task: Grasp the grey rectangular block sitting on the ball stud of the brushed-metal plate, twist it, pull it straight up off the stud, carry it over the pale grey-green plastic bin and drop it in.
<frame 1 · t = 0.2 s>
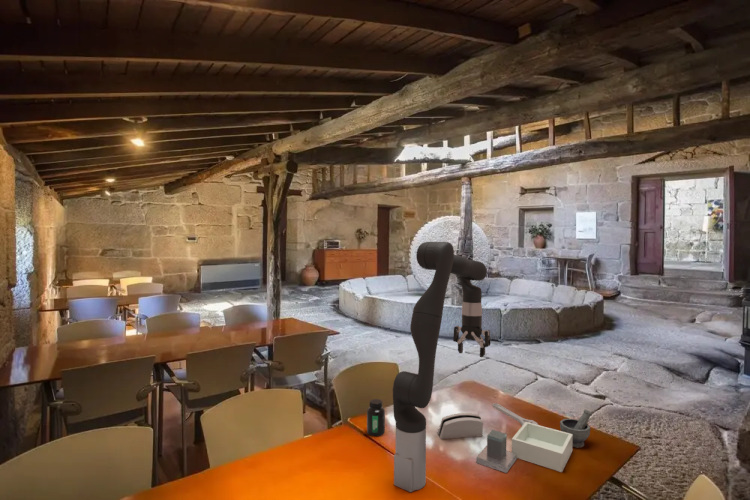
hand: (471, 354, 159), 29 cm above the table, tool pointing down, fingers open, 8 cm apart
adjustable wrench: (515, 418, 170), on the table
mortar and pestle: (576, 443, 149), on the table
supplement bottle: (375, 433, 156), on the table
grey rectangular block: (496, 455, 137), point 2 cm above the table, touching stud plate
napkin holder: (460, 436, 154), on the table
stud plate: (496, 461, 137), on the table
bin: (542, 453, 141), on the table
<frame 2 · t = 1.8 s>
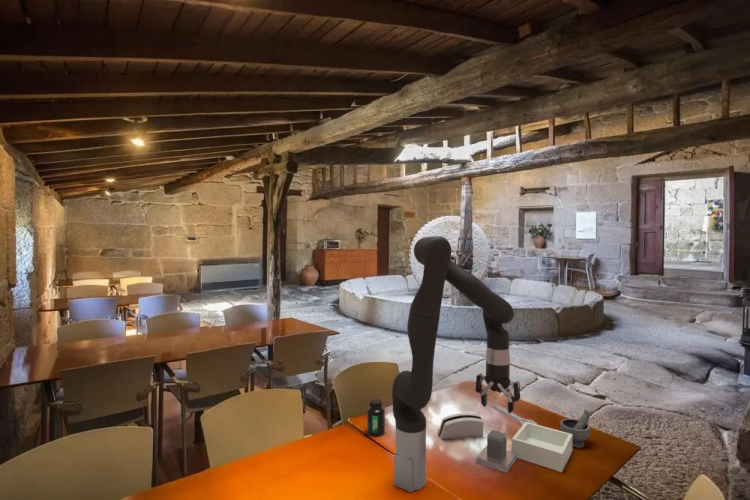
hand: (497, 409, 136), 18 cm above the table, tool pointing down, fingers open, 8 cm apart
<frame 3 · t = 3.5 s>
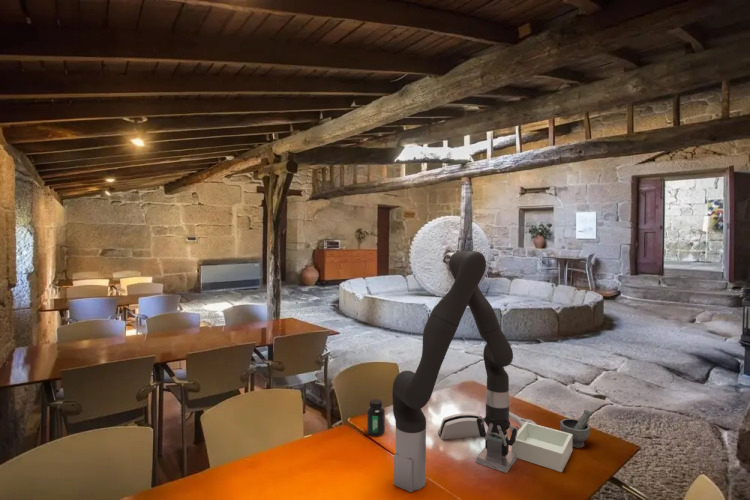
hand: (496, 452, 137), 3 cm above the table, tool pointing down, fingers closed on grey rectangular block, 4 cm apart
grey rectangular block: (496, 455, 137), point 2 cm above the table, touching gripper, stud plate
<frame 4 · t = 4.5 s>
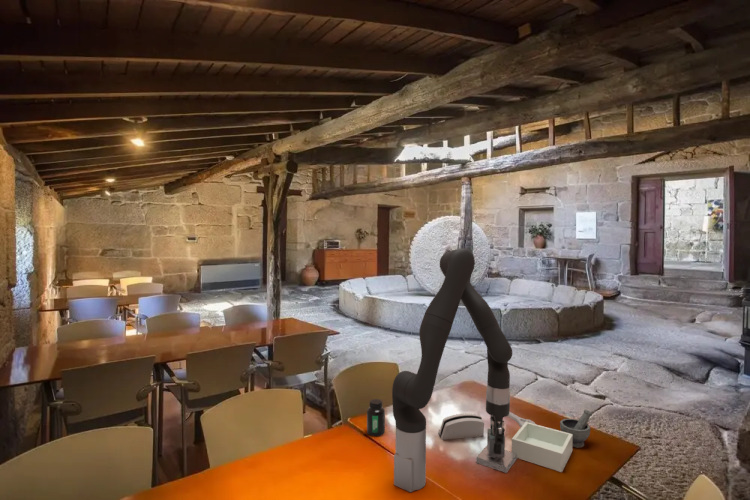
hand: (496, 449, 136), 4 cm above the table, tool pointing down, fingers closed on grey rectangular block, 4 cm apart
grey rectangular block: (495, 453, 136), point 3 cm above the table, touching gripper, stud plate
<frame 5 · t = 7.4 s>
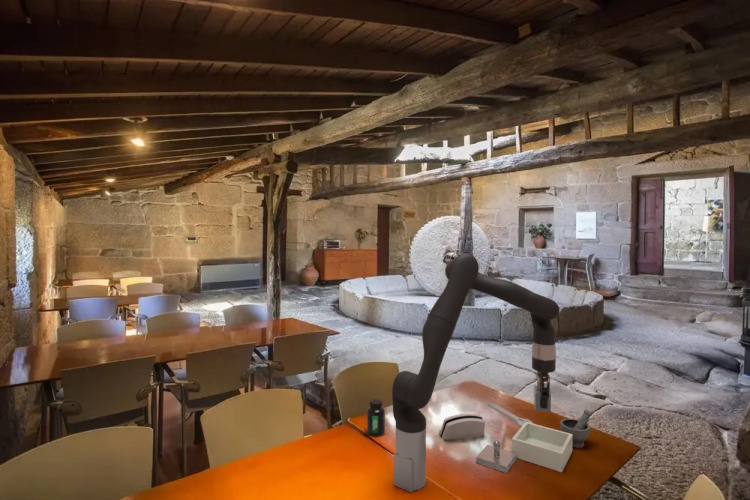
hand: (542, 404, 141), 17 cm above the table, tool pointing down, fingers closed on grey rectangular block, 4 cm apart
grey rectangular block: (542, 408, 141), point 16 cm above the table, touching gripper
when the fingers open (5 cm above the table, at t = 9.9 s): grey rectangular block drops 3 cm, resting on bin.
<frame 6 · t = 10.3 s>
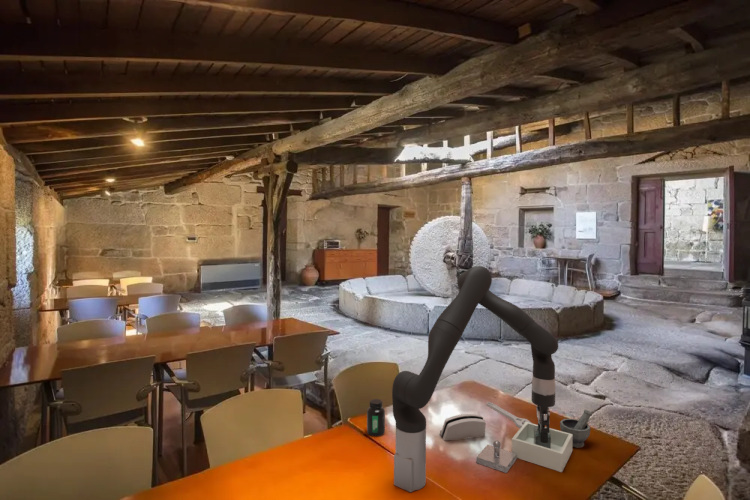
hand: (542, 436, 141), 6 cm above the table, tool pointing down, fingers open, 8 cm apart
grey rectangular block: (541, 450, 142), point 1 cm above the table, touching bin
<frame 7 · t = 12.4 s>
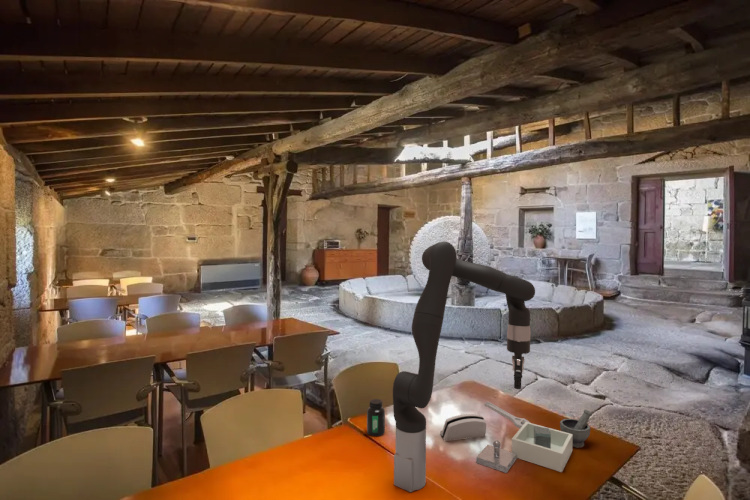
hand: (517, 384, 141), 24 cm above the table, tool pointing down, fingers open, 8 cm apart
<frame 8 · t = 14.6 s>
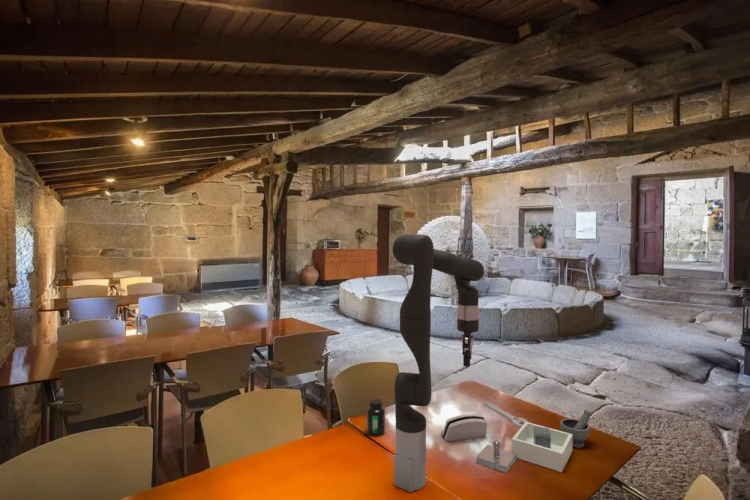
hand: (467, 362, 145), 30 cm above the table, tool pointing down, fingers open, 8 cm apart
at the end: grey rectangular block inside the target area on the bin (0.2 cm from its centre), point 1.0 cm above the bin's base; the gripper is holding nothing; grey rectangular block touching bin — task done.
